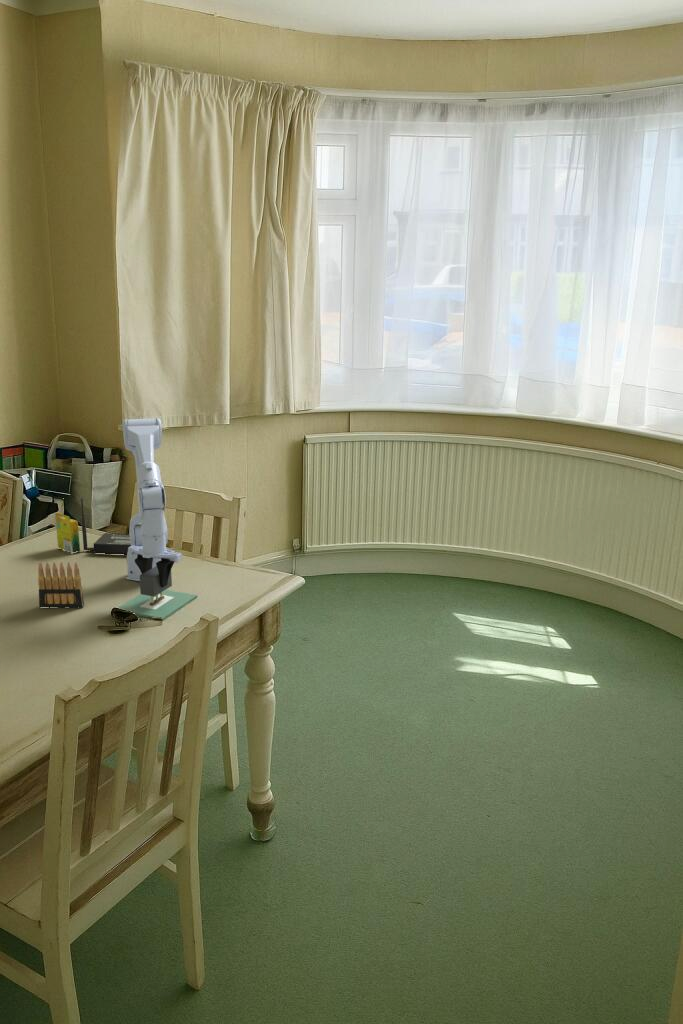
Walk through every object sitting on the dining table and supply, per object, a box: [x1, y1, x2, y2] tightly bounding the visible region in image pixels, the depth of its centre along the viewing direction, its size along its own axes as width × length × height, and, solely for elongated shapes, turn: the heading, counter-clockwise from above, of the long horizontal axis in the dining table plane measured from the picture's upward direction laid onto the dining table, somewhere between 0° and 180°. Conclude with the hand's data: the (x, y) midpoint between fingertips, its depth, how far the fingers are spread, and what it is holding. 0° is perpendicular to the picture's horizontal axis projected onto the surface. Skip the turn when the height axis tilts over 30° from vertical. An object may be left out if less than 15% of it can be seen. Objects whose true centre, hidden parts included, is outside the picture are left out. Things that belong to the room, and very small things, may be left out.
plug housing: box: [139, 566, 173, 597], centre depth 215 cm, size 4×8×5 cm, turn 158°
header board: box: [117, 589, 198, 621], centre depth 217 cm, size 14×16×3 cm
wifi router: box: [80, 497, 131, 555], centre depth 254 cm, size 20×14×17 cm
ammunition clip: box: [37, 562, 85, 609], centre depth 213 cm, size 11×2×12 cm, turn 93°
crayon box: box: [54, 512, 81, 552], centre depth 253 cm, size 7×3×12 cm, turn 52°
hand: (156, 584), depth 216 cm, fingers closed on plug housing, 4 cm apart
